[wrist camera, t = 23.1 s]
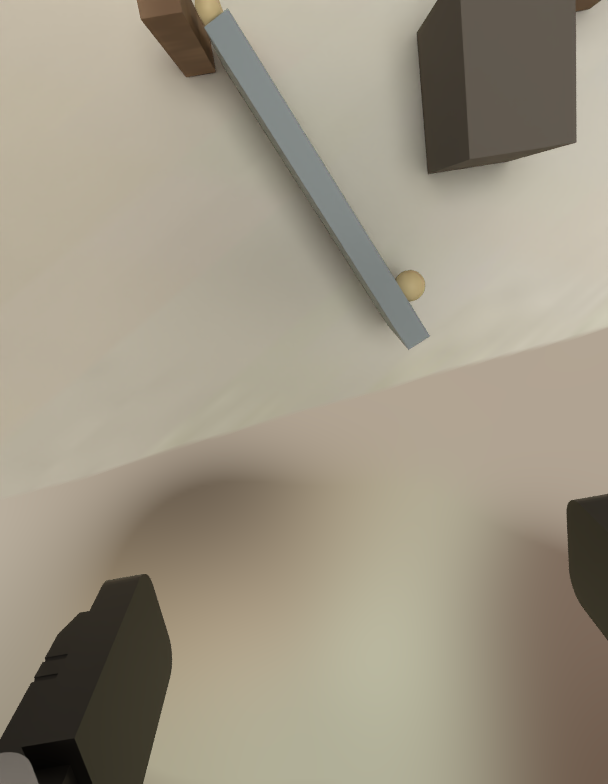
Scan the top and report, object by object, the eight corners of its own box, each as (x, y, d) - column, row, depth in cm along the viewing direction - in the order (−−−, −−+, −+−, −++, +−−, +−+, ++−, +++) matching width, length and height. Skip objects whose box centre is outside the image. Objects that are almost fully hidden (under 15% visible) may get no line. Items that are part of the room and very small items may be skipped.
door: (211, 48, 29) (187, 1, 23) (253, 14, 29) (241, -43, 22) (387, 325, 33) (408, 349, 27) (427, 300, 33) (457, 318, 27)
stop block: (428, 173, 31) (469, 159, 24) (417, 32, 29) (458, -33, 22) (508, 161, 31) (576, 142, 24) (503, 18, 29) (575, -53, 22)
